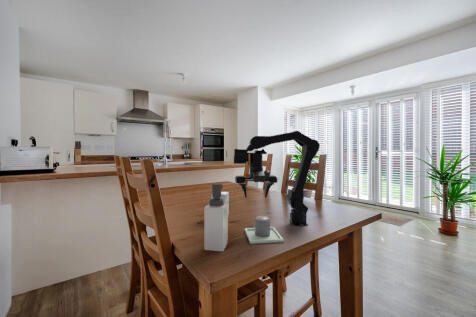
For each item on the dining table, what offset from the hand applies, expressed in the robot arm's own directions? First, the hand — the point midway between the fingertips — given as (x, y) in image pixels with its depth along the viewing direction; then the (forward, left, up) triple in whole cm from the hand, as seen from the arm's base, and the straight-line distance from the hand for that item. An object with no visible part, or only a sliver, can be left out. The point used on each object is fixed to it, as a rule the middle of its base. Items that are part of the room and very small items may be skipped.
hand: (255, 197), depth 98 cm
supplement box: (+16, -10, -12) cm, 23 cm away
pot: (0, +14, -12) cm, 18 cm away
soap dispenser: (+18, +21, -12) cm, 30 cm away
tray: (0, +15, -12) cm, 19 cm away
